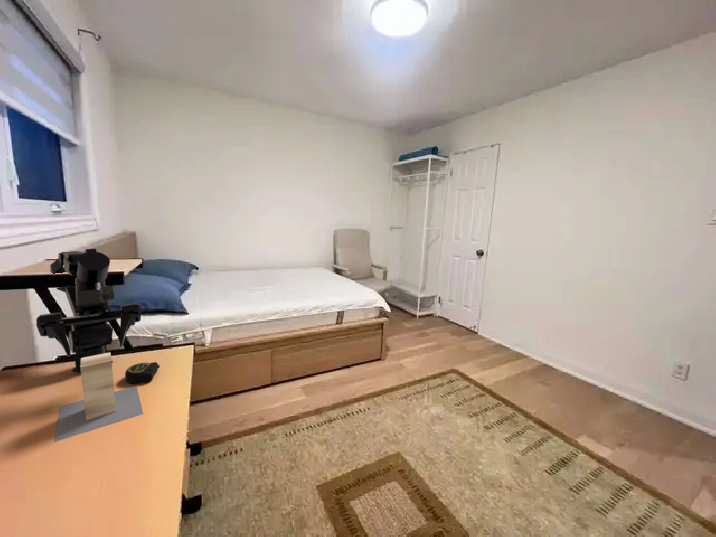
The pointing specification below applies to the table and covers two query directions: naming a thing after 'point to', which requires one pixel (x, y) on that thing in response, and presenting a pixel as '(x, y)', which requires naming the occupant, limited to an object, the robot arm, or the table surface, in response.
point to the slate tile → (75, 416)
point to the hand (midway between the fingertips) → (96, 350)
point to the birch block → (98, 385)
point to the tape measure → (141, 373)
